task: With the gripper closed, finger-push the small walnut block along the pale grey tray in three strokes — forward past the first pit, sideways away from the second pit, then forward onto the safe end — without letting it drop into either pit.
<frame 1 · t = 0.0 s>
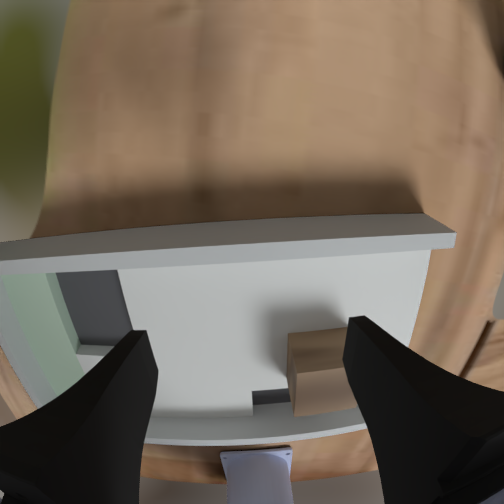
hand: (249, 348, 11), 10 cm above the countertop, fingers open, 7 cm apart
walnut block: (317, 353, 22), point 1 cm above the countertop, touching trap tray
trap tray: (201, 339, 23), on the countertop
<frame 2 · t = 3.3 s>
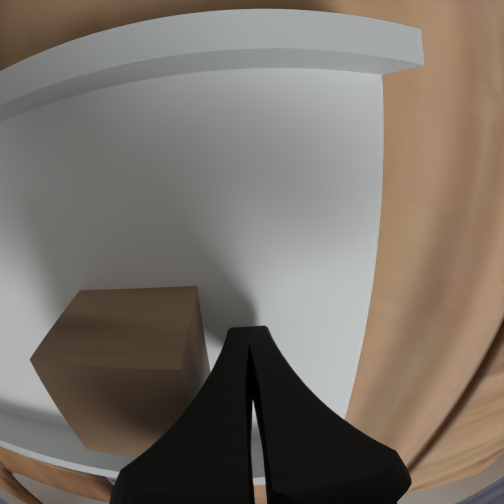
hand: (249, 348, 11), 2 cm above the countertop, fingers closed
walnut block: (147, 339, 11), point 2 cm above the countertop, touching gripper, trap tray
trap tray: (9, 299, 12), on the countertop
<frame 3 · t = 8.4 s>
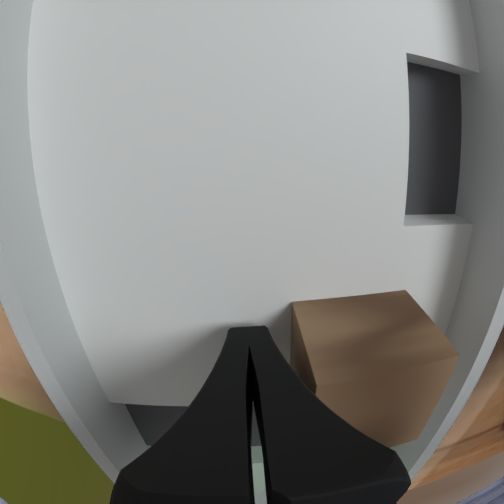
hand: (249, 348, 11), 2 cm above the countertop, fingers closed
walnut block: (345, 343, 12), point 2 cm above the countertop, touching gripper
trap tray: (272, 302, 13), on the countertop
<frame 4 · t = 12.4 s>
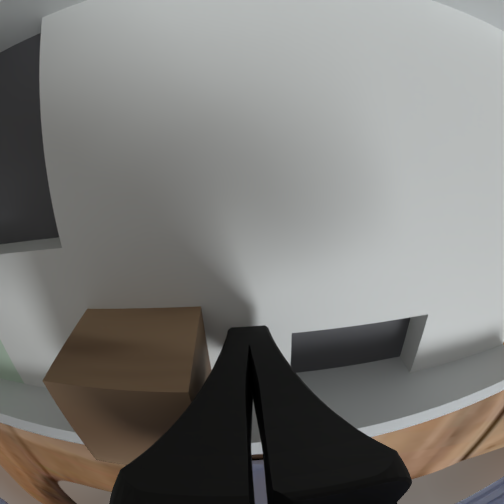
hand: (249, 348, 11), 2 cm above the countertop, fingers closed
walnut block: (153, 355, 12), point 1 cm above the countertop, touching gripper, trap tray
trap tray: (186, 210, 11), on the countertop
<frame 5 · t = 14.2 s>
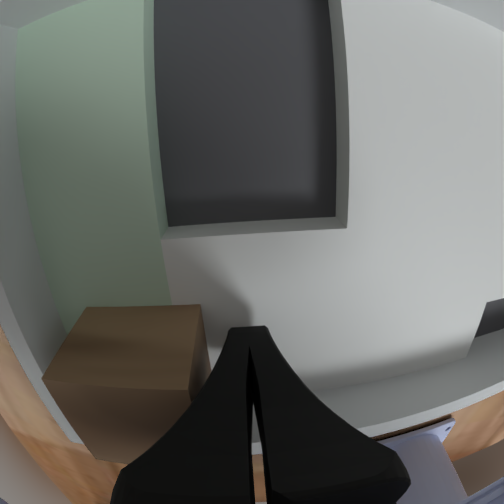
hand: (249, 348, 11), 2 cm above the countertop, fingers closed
walnut block: (152, 353, 12), point 2 cm above the countertop, touching gripper
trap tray: (433, 201, 11), on the countertop
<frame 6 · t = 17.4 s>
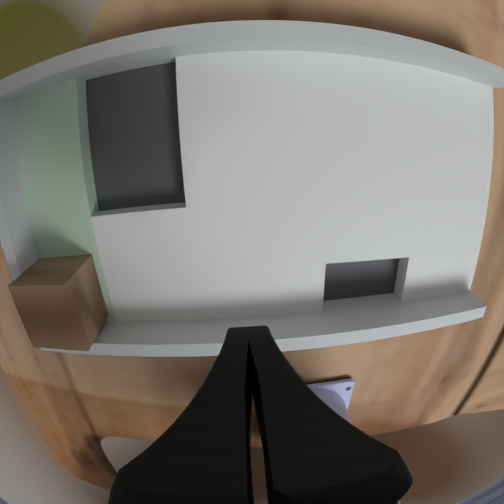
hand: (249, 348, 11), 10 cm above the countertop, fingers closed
walnut block: (72, 286, 19), point 1 cm above the countertop, touching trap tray
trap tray: (264, 188, 18), on the countertop
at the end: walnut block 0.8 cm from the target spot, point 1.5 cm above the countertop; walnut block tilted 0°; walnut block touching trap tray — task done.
